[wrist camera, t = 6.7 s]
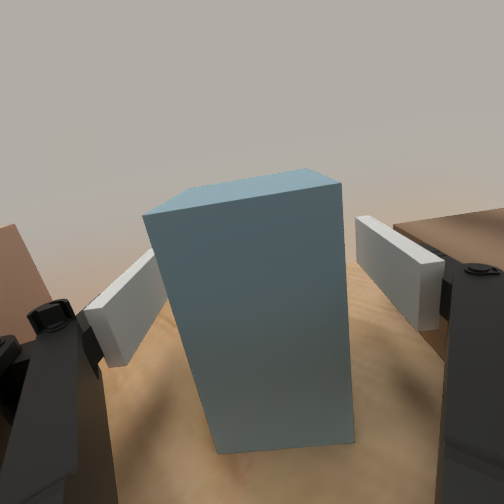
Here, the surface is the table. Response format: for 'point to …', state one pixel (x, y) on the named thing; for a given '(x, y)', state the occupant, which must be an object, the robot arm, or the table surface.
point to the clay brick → (18, 286)
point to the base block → (459, 248)
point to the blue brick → (262, 307)
